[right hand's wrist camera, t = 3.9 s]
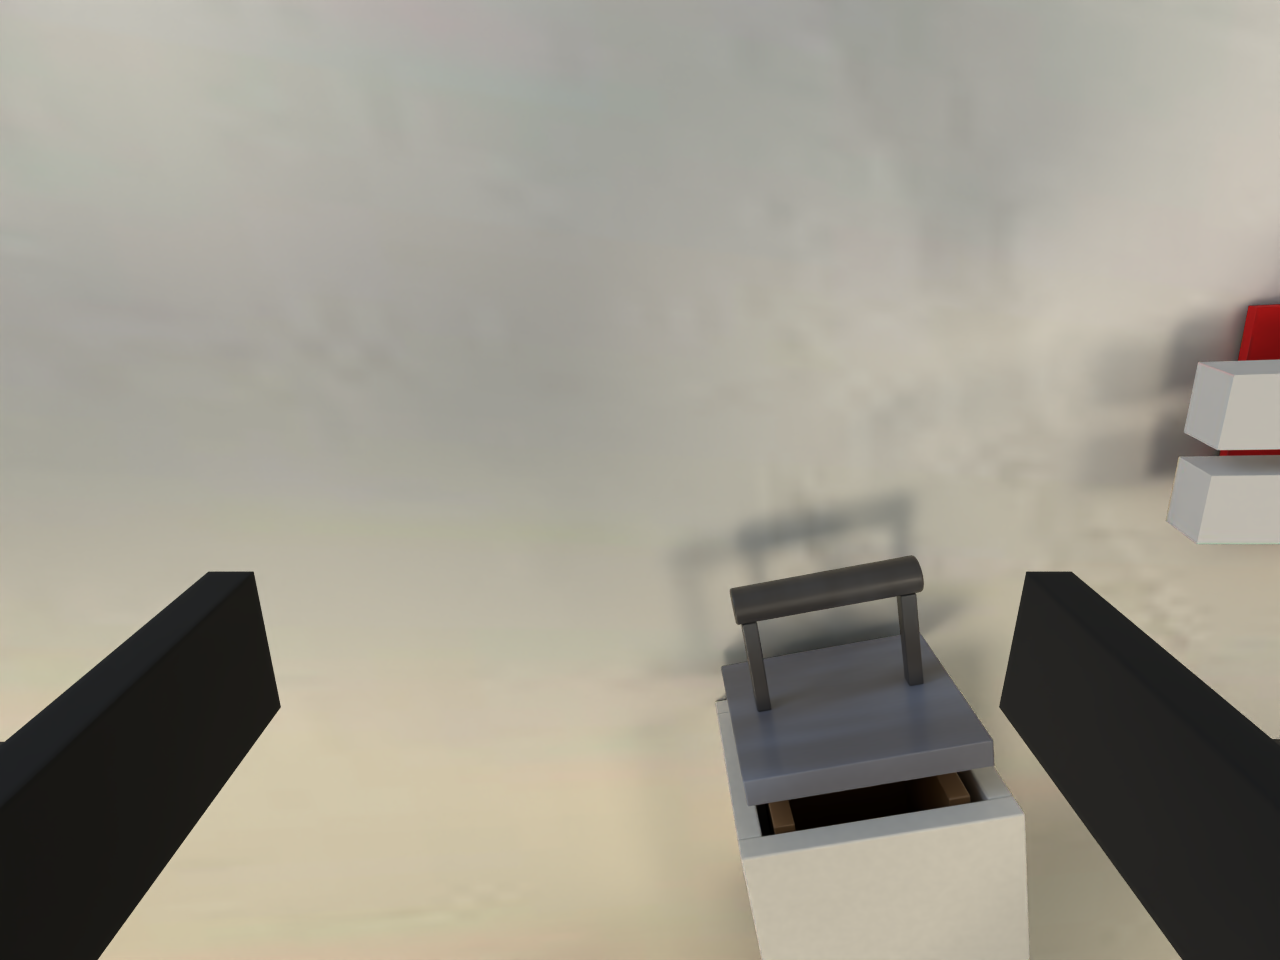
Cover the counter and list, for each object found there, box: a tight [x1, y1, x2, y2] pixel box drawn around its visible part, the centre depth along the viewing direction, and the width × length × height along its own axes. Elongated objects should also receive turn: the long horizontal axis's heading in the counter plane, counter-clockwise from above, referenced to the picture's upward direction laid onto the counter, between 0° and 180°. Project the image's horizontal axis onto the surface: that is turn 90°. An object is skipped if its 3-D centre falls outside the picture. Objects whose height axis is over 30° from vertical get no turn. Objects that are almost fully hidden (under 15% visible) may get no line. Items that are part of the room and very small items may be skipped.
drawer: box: [721, 555, 994, 835], centre depth 32 cm, size 21×9×7 cm, turn 12°
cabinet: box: [715, 700, 1030, 960], centre depth 34 cm, size 17×10×9 cm, turn 12°
